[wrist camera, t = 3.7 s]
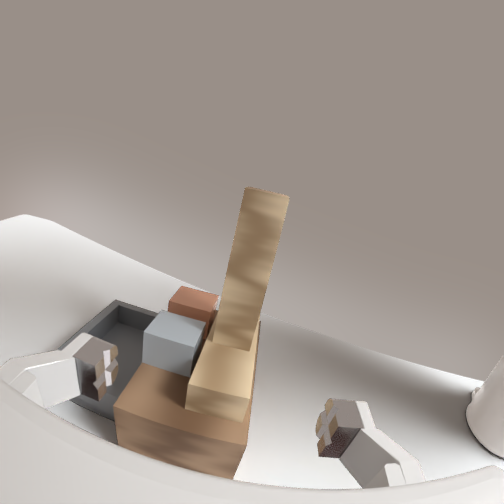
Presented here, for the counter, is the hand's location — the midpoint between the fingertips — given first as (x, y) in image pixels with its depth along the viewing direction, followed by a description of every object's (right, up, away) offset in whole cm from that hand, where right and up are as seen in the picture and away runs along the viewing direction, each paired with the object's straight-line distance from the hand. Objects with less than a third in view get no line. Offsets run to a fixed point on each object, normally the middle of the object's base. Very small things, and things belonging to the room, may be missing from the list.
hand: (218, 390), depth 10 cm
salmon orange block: (-5, -2, +19) cm, 20 cm away
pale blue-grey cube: (-5, -4, +13) cm, 15 cm away
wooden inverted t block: (-1, -4, +15) cm, 15 cm away
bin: (-13, -7, +18) cm, 23 cm away
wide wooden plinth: (-4, -10, +16) cm, 19 cm away
